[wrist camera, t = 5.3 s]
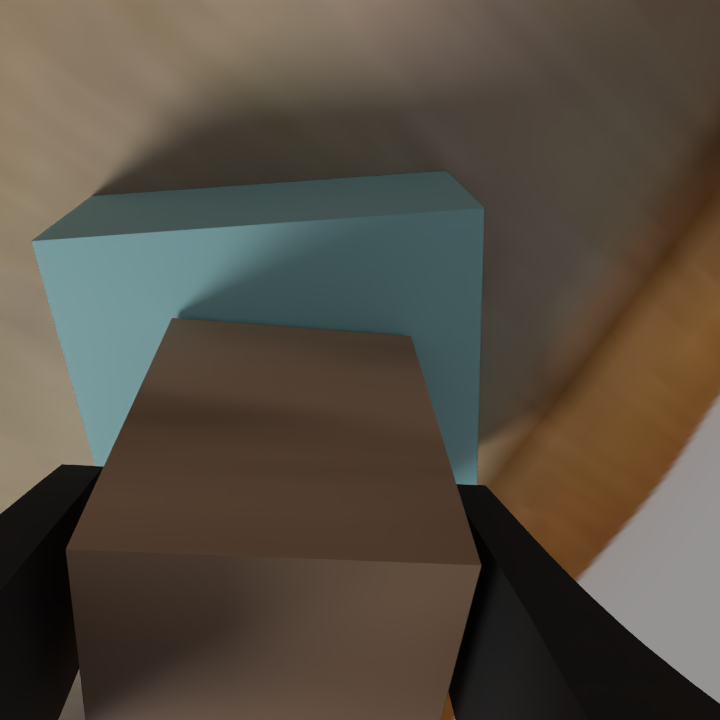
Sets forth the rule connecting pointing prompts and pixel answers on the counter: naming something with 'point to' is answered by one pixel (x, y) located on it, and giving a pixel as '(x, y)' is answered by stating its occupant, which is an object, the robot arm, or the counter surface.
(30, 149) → the counter surface
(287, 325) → the teal base box
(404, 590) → the walnut block
